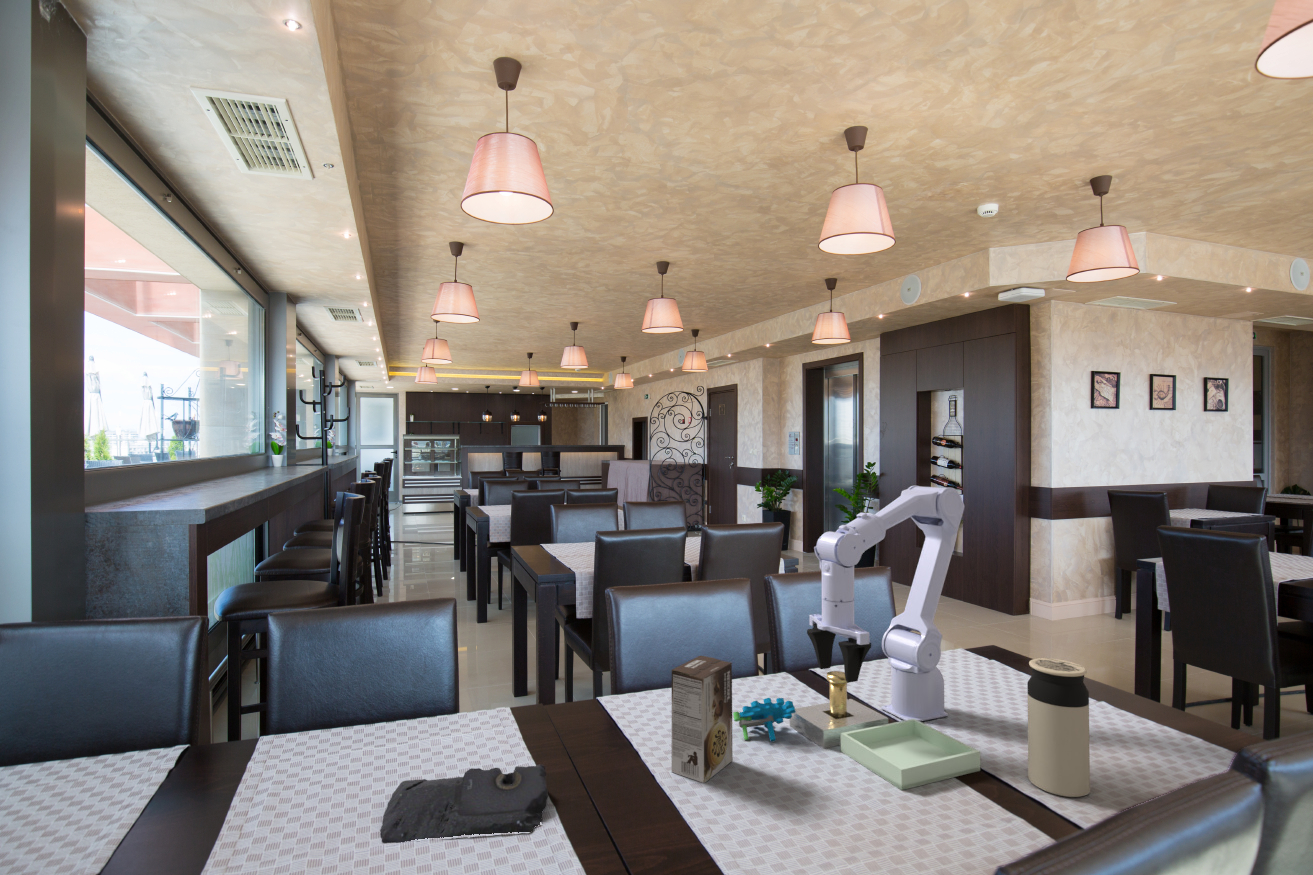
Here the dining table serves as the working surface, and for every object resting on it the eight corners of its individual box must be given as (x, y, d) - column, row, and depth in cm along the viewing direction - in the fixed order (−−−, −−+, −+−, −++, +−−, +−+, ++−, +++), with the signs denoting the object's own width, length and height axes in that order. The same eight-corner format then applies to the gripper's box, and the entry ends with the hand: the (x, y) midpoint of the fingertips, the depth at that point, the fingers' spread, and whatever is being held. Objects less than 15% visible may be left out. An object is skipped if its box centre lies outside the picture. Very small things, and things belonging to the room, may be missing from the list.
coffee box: (699, 751, 112) (700, 654, 112) (733, 761, 108) (733, 661, 108) (669, 772, 104) (669, 668, 105) (704, 784, 101) (704, 676, 101)
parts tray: (914, 735, 118) (914, 718, 118) (980, 770, 105) (980, 751, 105) (840, 751, 112) (840, 733, 112) (901, 790, 99) (901, 769, 99)
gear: (793, 715, 123) (794, 690, 116) (800, 748, 119) (802, 724, 112) (733, 722, 123) (731, 698, 116) (739, 755, 119) (737, 732, 112)
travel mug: (1069, 803, 95) (1067, 677, 96) (1016, 779, 102) (1015, 661, 103) (1101, 791, 99) (1100, 668, 99) (1048, 768, 106) (1047, 654, 106)
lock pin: (840, 724, 123) (840, 669, 123) (854, 732, 119) (854, 676, 120) (822, 727, 121) (822, 672, 122) (836, 736, 118) (836, 679, 118)
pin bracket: (851, 714, 128) (851, 698, 128) (888, 734, 118) (888, 717, 119) (789, 725, 122) (789, 709, 122) (823, 748, 113) (823, 730, 113)
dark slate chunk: (399, 789, 100) (399, 757, 100) (548, 779, 103) (548, 748, 103) (371, 850, 84) (371, 812, 85) (547, 836, 88) (547, 799, 88)
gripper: (796, 592, 126) (796, 665, 126) (846, 609, 113) (846, 690, 112) (826, 589, 129) (826, 660, 128) (879, 605, 115) (879, 685, 115)
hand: (837, 674), depth 121 cm, fingers open, 7 cm apart
